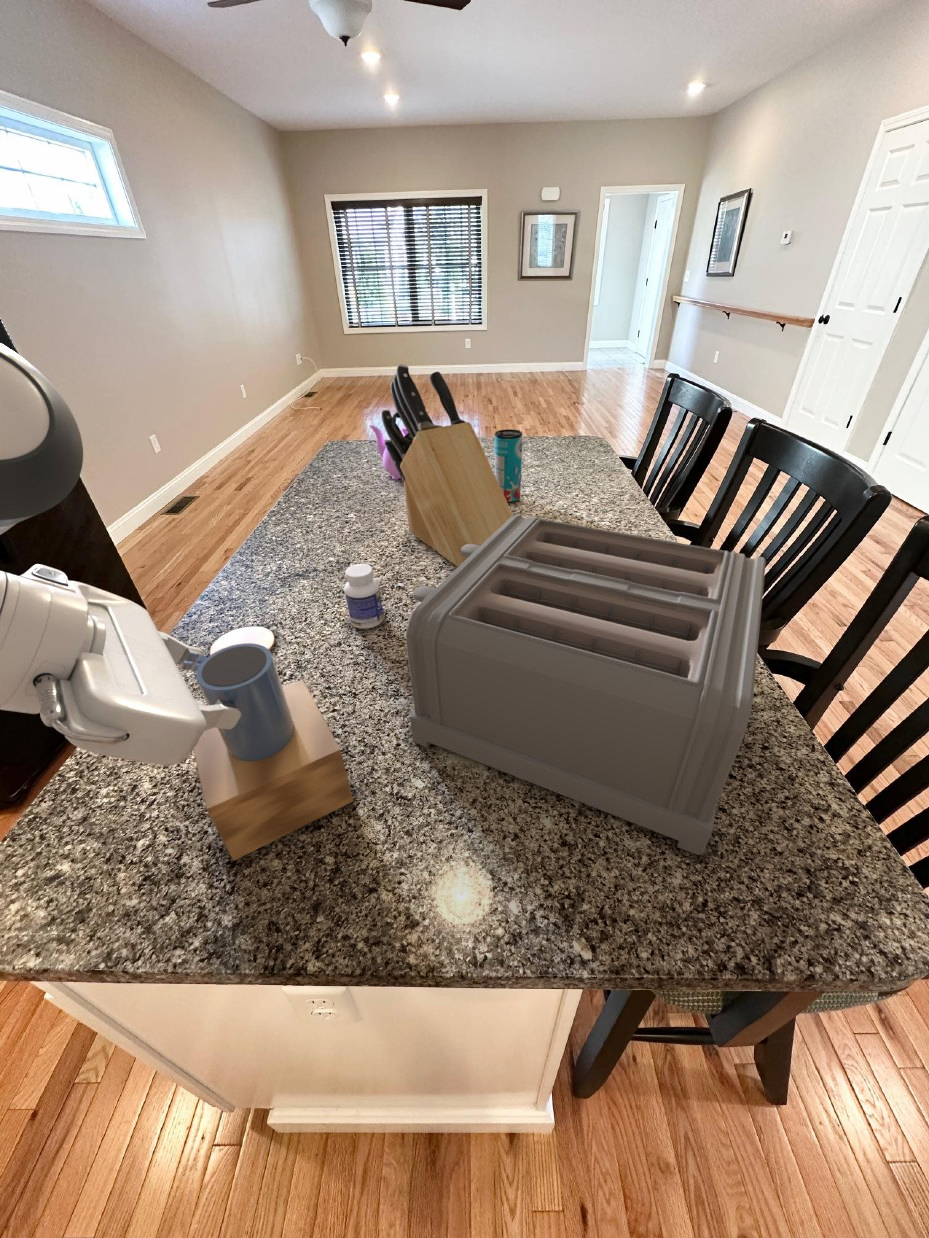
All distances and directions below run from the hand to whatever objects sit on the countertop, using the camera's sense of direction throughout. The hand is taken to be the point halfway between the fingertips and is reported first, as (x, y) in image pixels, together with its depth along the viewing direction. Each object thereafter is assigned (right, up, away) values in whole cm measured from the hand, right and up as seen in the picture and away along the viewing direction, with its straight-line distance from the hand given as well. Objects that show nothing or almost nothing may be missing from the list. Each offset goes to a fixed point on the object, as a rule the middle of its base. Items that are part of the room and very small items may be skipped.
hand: (217, 687), depth 46 cm
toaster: (+35, -4, +19) cm, 40 cm away
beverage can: (+32, +33, +72) cm, 86 cm away
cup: (+2, -5, +4) cm, 7 cm away
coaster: (-10, +2, +30) cm, 31 cm away
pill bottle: (+7, +6, +34) cm, 35 cm away
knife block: (+20, +21, +56) cm, 63 cm away
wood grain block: (+2, -12, +9) cm, 15 cm away
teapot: (+8, +44, +88) cm, 99 cm away
